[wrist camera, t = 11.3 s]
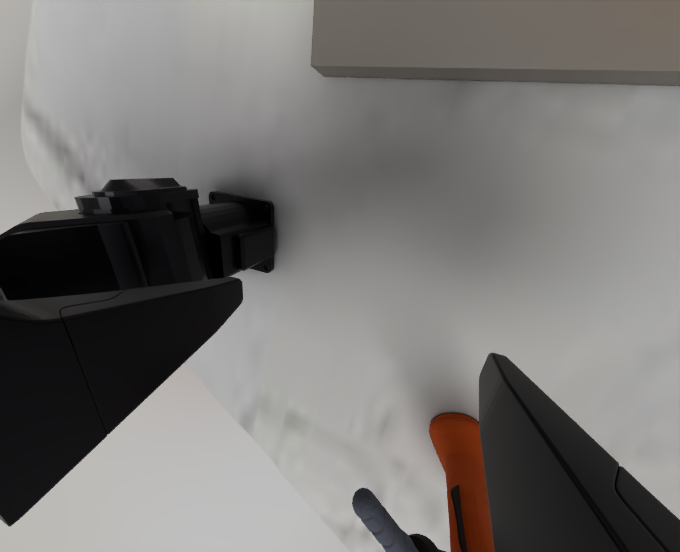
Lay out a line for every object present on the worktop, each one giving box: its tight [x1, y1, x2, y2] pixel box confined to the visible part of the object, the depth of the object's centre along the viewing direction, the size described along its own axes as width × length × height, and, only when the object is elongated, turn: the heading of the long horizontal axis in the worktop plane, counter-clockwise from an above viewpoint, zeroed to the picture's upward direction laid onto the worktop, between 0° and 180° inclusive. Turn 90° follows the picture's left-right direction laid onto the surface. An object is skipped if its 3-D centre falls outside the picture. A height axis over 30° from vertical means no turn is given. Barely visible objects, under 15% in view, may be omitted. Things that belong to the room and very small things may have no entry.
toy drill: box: [352, 413, 495, 552], centre depth 17 cm, size 5×19×15 cm, turn 29°
